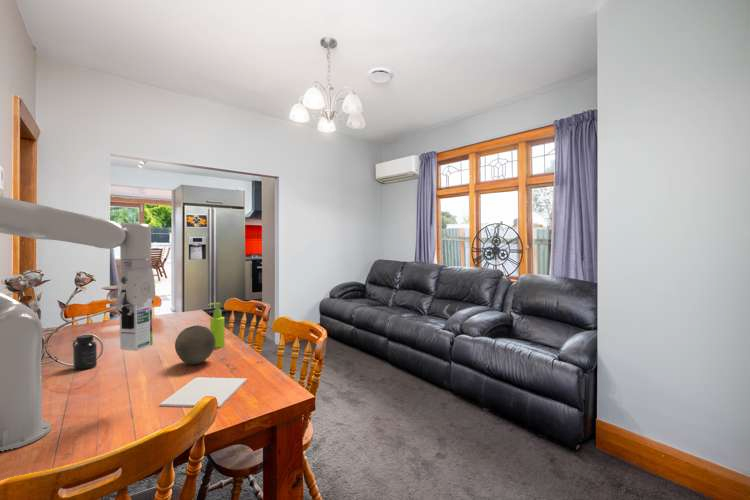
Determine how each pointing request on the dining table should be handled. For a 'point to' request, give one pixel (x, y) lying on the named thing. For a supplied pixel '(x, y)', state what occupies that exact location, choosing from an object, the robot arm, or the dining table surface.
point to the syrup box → (138, 328)
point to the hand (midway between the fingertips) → (136, 325)
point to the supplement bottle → (84, 353)
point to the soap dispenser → (218, 326)
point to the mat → (204, 391)
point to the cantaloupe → (195, 344)
